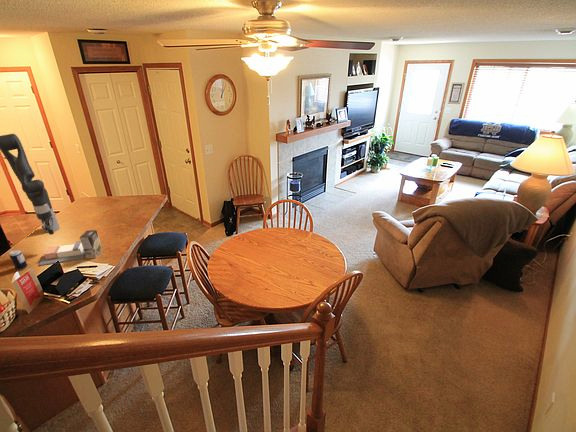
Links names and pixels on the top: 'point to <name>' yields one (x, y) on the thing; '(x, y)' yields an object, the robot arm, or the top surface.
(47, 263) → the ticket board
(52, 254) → the pink block
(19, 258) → the beverage can
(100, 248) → the coffee box
